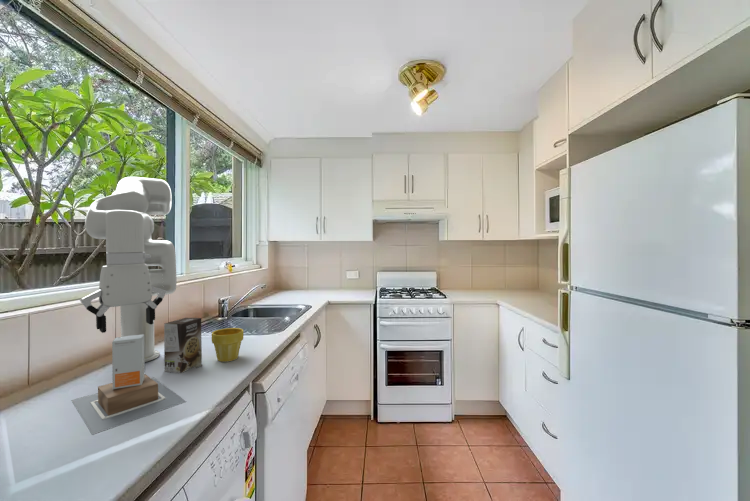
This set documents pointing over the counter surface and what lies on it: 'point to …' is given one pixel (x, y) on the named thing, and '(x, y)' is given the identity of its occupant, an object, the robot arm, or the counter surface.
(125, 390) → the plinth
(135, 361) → the skincare box
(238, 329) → the plant pot
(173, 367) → the coffee box
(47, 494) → the counter surface
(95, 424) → the grey rectangular mat
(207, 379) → the counter surface
